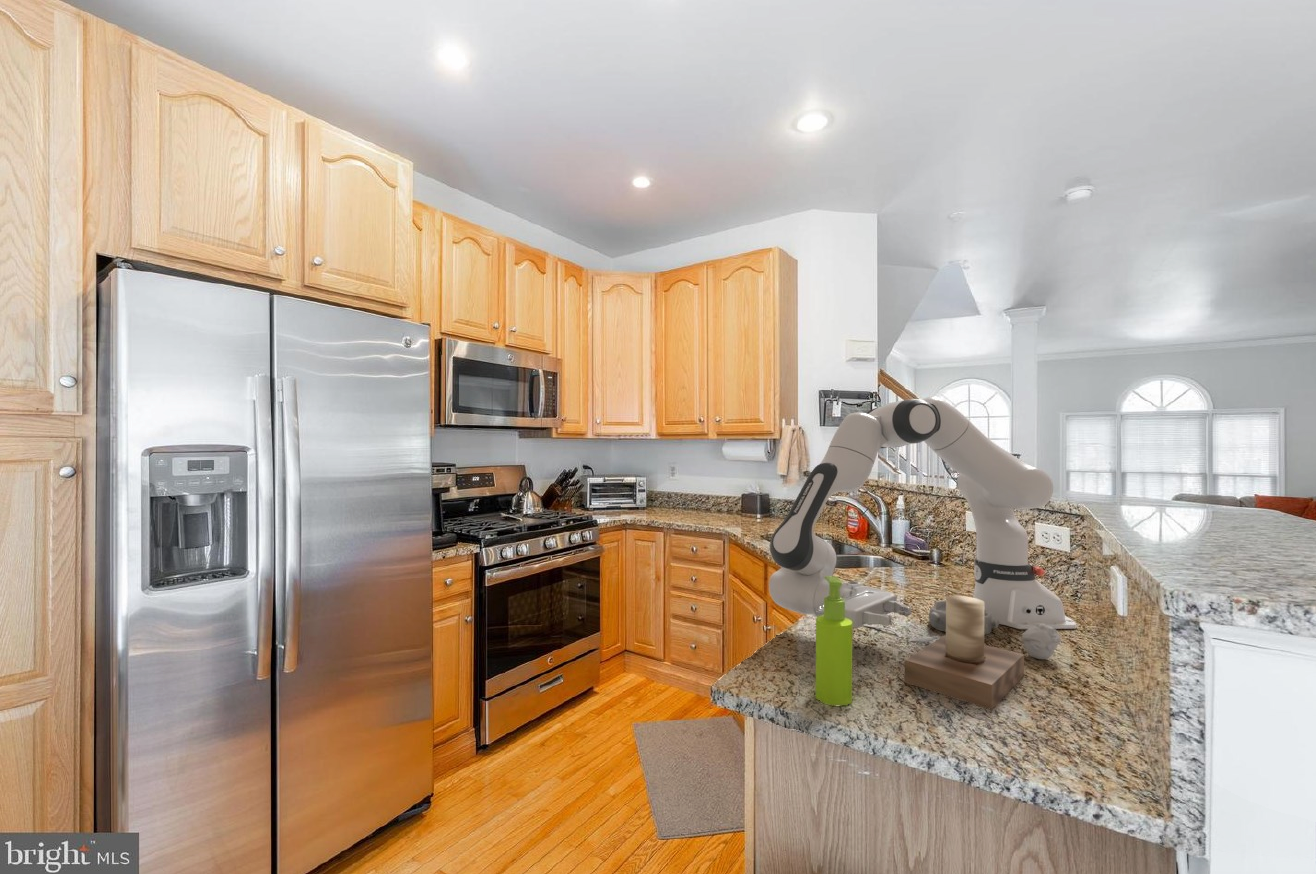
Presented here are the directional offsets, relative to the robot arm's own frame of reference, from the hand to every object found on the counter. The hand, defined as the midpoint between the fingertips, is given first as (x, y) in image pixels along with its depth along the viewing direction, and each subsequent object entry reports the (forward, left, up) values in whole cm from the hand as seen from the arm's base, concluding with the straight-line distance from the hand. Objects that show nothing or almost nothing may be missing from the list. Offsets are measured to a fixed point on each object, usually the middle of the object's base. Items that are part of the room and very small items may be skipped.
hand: (900, 616), depth 110 cm
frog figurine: (-29, -5, -9) cm, 31 cm away
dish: (-21, -23, -9) cm, 33 cm away
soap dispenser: (+17, +19, -9) cm, 27 cm away
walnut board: (-9, +8, -9) cm, 15 cm away
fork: (-2, -18, -9) cm, 21 cm away
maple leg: (-9, +8, -8) cm, 14 cm away
